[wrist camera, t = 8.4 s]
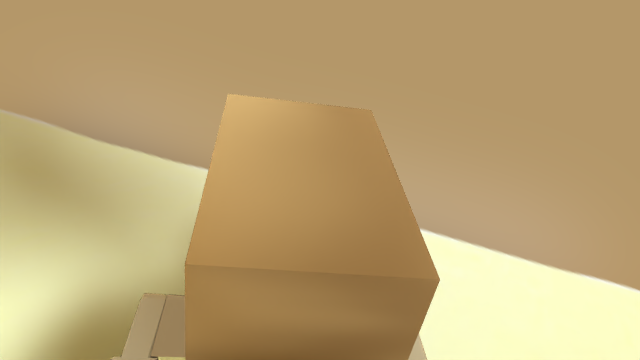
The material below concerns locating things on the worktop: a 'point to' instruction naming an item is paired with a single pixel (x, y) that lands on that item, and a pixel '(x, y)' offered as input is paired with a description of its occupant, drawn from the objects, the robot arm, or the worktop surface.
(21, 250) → the worktop surface
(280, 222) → the oak plank
